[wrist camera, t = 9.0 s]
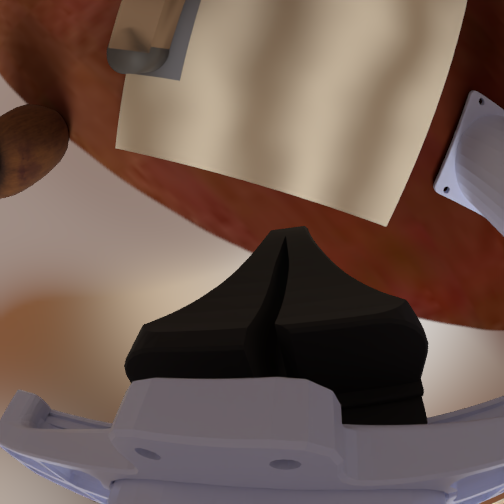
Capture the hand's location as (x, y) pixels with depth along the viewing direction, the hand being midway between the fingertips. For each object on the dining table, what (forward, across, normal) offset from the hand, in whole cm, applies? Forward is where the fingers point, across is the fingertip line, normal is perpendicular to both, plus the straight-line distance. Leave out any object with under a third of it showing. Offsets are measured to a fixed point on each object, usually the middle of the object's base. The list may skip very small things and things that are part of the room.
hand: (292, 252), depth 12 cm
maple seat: (+10, -2, -9) cm, 14 cm away
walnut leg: (+8, +3, -15) cm, 17 cm away
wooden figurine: (+11, +18, -7) cm, 22 cm away
